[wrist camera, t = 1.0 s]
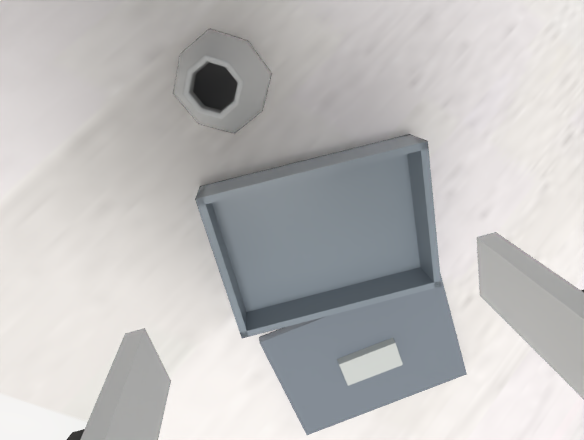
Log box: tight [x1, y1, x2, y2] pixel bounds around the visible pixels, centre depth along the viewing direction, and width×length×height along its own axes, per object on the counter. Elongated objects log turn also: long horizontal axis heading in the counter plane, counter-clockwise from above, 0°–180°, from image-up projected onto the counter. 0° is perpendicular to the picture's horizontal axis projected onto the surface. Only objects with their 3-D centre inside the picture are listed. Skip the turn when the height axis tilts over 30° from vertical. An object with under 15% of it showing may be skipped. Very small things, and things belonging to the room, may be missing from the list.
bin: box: [195, 134, 441, 338], centre depth 34 cm, size 13×18×4 cm
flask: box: [173, 29, 272, 133], centre depth 26 cm, size 7×7×10 cm
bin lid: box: [259, 274, 466, 435], centre depth 40 cm, size 14×19×2 cm
